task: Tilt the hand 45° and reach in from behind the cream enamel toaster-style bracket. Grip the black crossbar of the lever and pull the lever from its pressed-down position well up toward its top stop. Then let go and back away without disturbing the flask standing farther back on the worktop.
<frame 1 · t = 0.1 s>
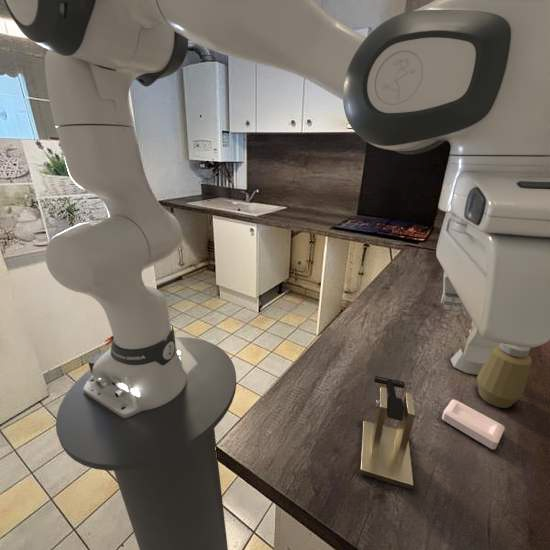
hand: (459, 329, 30), 32 cm above the worktop, tool pointing down, fingers open, 8 cm apart
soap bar: (470, 427, 57), on the worktop
flask: (466, 366, 73), on the worktop
squeeze bottle: (493, 398, 63), on the worktop
lever: (391, 394, 52), point 9 cm above the worktop, hinge at -20.0°
toaster bracket: (384, 454, 52), on the worktop
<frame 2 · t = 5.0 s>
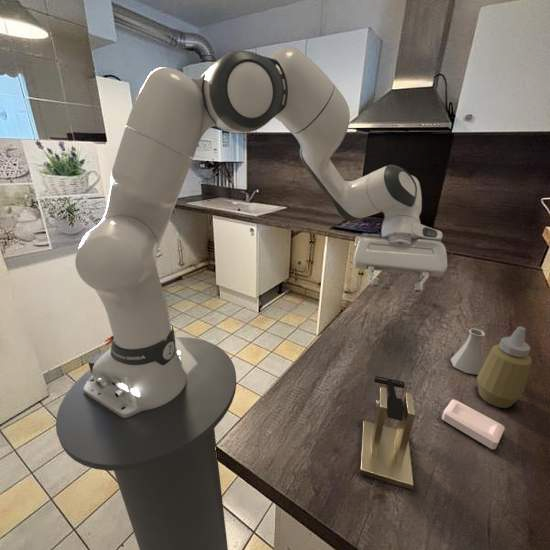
hand: (395, 288, 66), 21 cm above the worktop, tool tilted 45°, fingers open, 8 cm apart
nothing on the worktop moved.
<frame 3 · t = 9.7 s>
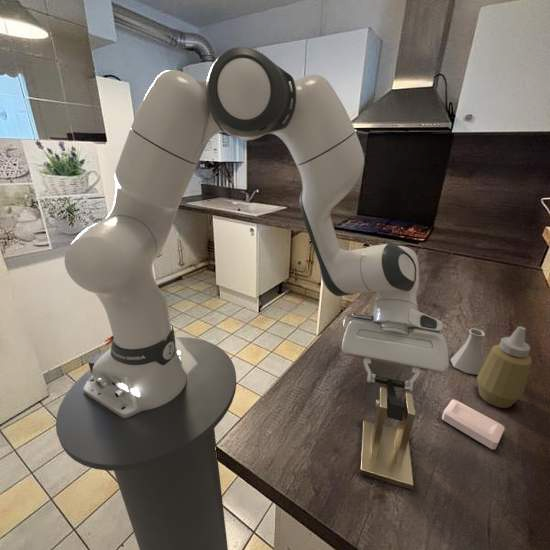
hand: (389, 386, 57), 7 cm above the worktop, tool tilted 45°, fingers closed on lever, 5 cm apart
lever: (391, 394, 52), point 9 cm above the worktop, hinge at -19.9°, touching gripper
everything else where it was.
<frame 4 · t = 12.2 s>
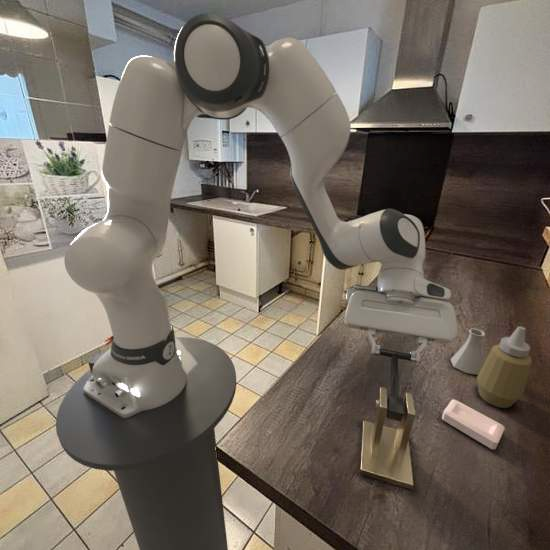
hand: (394, 358, 55), 13 cm above the worktop, tool tilted 45°, fingers closed on lever, 5 cm apart
lever: (394, 381, 51), point 12 cm above the worktop, hinge at 14.5°, touching gripper
everything else where it was.
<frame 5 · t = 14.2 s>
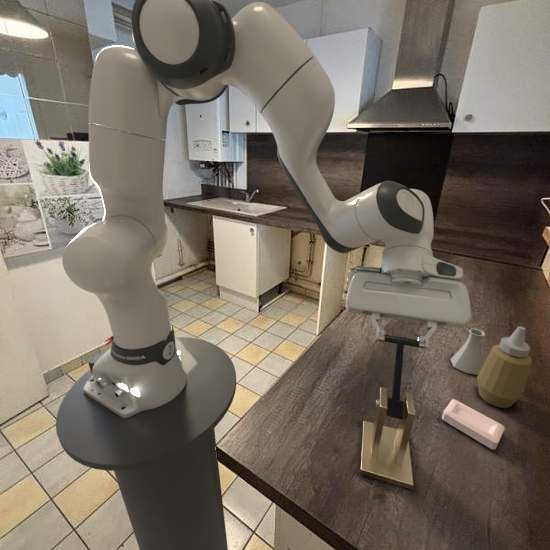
hand: (401, 344, 50), 19 cm above the worktop, tool tilted 45°, fingers closed on lever, 5 cm apart
lever: (397, 375, 49), point 15 cm above the worktop, hinge at 47.8°, touching gripper
everything else where it was.
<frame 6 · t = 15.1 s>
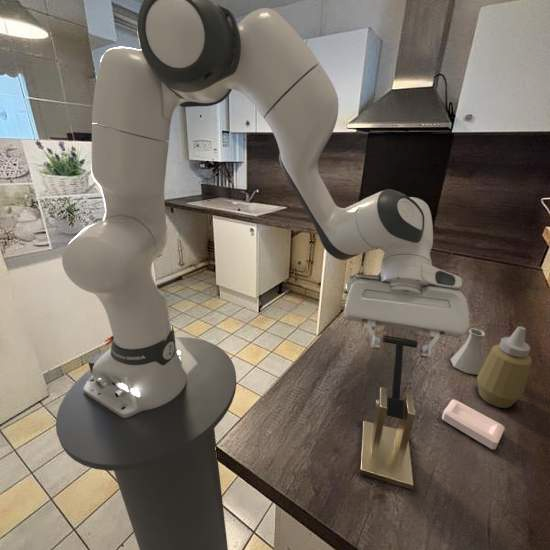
hand: (399, 353, 50), 18 cm above the worktop, tool tilted 45°, fingers open, 7 cm apart
lever: (397, 375, 49), point 15 cm above the worktop, hinge at 43.9°
everything else where it was.
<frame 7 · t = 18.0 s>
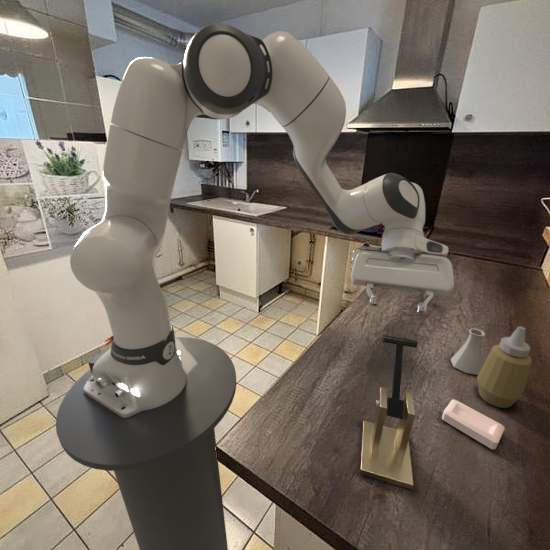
hand: (396, 308, 60), 19 cm above the worktop, tool tilted 45°, fingers open, 8 cm apart
nothing on the worktop moved.
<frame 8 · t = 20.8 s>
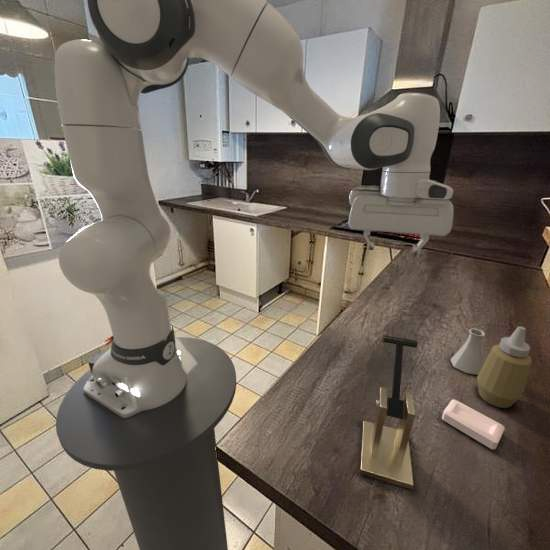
hand: (392, 251, 64), 29 cm above the worktop, tool pointing down, fingers open, 8 cm apart
nothing on the worktop moved.
at the end: lever at +44° (first picture: -20°); the gripper is holding nothing; flask 0.0 cm from the target spot on the worktop beside the toaster bracket, on the worktop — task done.
